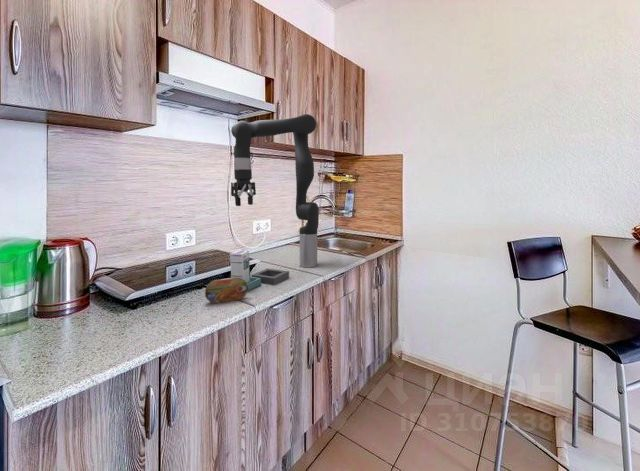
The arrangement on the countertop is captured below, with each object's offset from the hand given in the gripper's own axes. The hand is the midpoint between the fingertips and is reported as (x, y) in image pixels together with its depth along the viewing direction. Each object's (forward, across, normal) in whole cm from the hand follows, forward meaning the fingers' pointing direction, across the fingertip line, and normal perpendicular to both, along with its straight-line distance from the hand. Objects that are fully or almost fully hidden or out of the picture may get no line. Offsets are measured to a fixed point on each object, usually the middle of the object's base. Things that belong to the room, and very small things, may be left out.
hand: (244, 205), depth 141 cm
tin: (+33, +29, +14) cm, 46 cm away
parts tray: (+33, +15, +9) cm, 37 cm away
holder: (+33, +1, +14) cm, 36 cm away
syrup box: (+32, +15, +9) cm, 37 cm away
